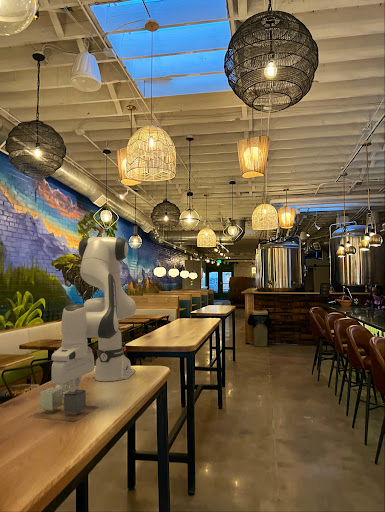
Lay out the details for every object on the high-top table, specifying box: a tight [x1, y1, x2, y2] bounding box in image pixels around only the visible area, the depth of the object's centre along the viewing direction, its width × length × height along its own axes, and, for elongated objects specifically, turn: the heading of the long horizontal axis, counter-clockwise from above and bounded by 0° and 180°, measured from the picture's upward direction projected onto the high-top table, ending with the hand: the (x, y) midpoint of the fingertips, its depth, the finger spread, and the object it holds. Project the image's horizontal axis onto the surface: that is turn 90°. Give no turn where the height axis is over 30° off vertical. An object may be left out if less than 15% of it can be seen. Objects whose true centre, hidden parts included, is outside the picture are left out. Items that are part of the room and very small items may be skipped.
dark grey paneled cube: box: [63, 389, 87, 413], centre depth 129 cm, size 5×5×6 cm
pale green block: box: [39, 387, 63, 413], centre depth 132 cm, size 5×5×8 cm
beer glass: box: [54, 382, 70, 397], centre depth 152 cm, size 7×7×15 cm
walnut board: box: [28, 402, 99, 423], centre depth 131 cm, size 15×19×1 cm
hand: (74, 390), depth 129 cm, fingers closed
